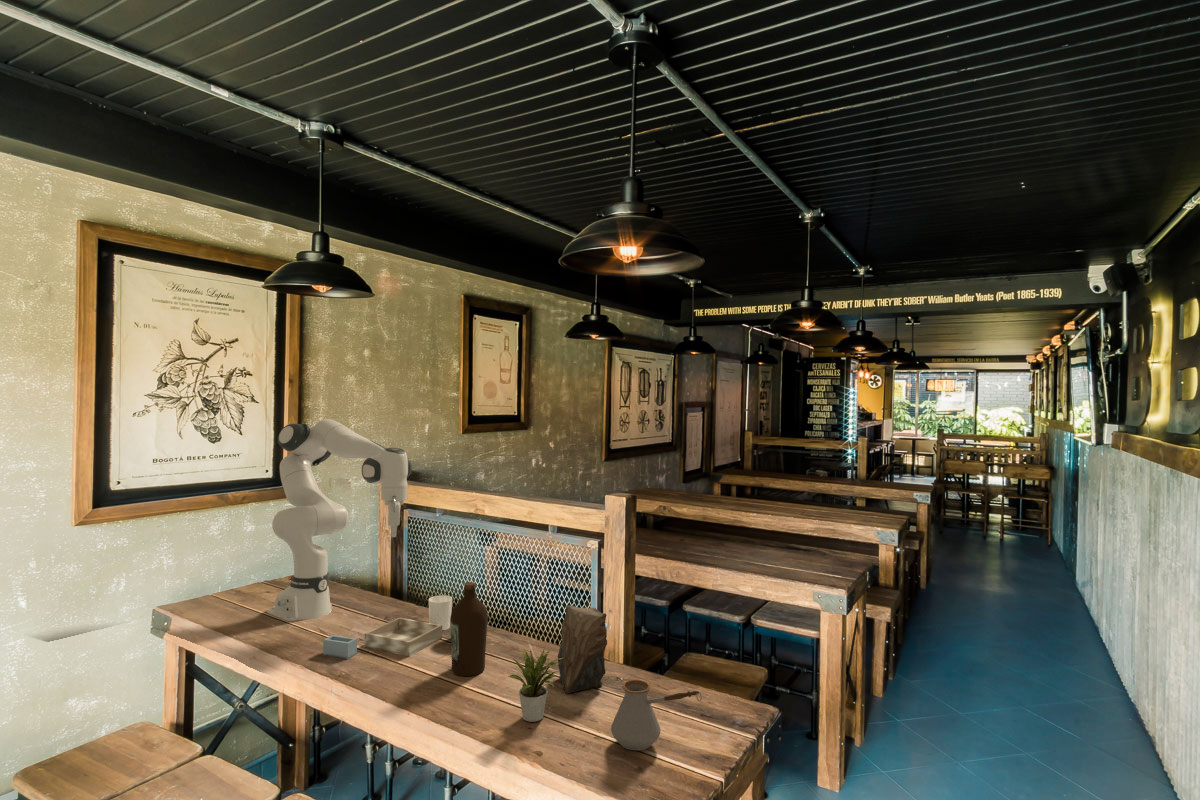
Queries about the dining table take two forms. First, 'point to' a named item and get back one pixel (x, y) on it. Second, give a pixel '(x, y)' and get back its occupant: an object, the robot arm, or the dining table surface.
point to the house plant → (534, 686)
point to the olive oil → (468, 634)
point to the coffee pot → (639, 716)
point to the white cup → (440, 610)
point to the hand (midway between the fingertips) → (393, 534)
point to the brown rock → (582, 649)
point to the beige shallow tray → (403, 636)
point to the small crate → (340, 646)
